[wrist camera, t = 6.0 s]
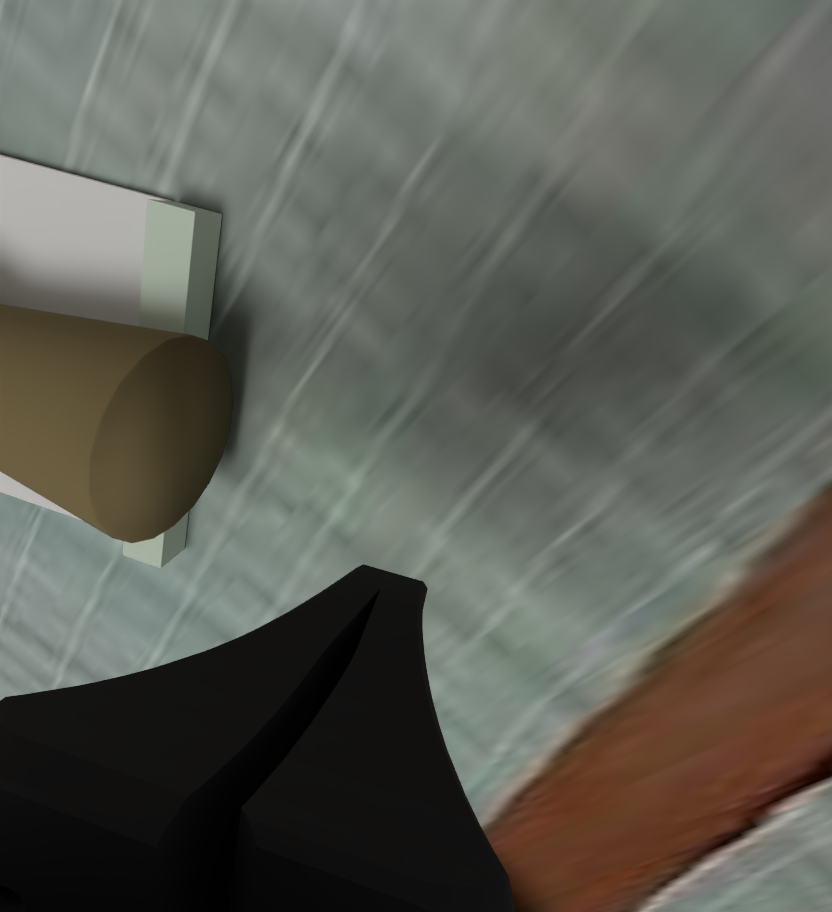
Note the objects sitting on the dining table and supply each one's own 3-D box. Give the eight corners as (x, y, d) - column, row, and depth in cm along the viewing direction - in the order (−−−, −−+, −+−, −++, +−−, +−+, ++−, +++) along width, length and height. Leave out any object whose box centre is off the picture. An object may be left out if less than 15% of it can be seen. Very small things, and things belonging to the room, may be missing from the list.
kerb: (222, 214, 19) (195, 211, 17) (184, 548, 23) (160, 568, 22) (177, 201, 19) (147, 198, 18) (148, 536, 23) (122, 554, 22)
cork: (43, 495, 13) (-310, 355, 16) (160, 568, 19) (-113, 457, 21) (184, 287, 16) (-141, 191, 18) (252, 406, 21) (-3, 321, 23)
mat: (172, 200, 19) (165, 200, 19) (145, 535, 23) (138, 539, 23) (-155, 112, 20) (-168, 110, 20) (-123, 442, 25) (-133, 445, 24)
